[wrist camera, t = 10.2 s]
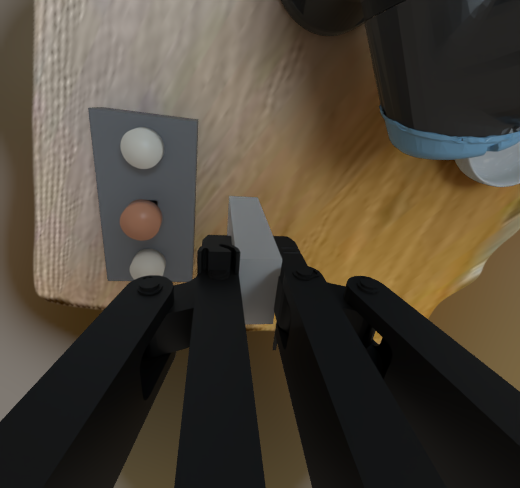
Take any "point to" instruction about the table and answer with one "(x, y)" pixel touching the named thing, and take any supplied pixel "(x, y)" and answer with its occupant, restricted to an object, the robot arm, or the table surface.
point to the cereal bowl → (494, 167)
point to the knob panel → (146, 189)
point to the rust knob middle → (141, 219)
